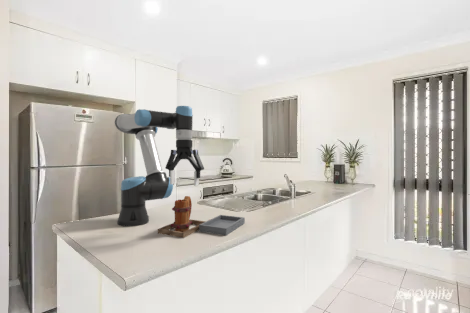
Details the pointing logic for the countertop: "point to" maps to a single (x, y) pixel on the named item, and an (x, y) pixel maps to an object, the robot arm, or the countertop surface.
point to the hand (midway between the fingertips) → (184, 184)
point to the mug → (182, 214)
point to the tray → (222, 224)
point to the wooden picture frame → (167, 231)
